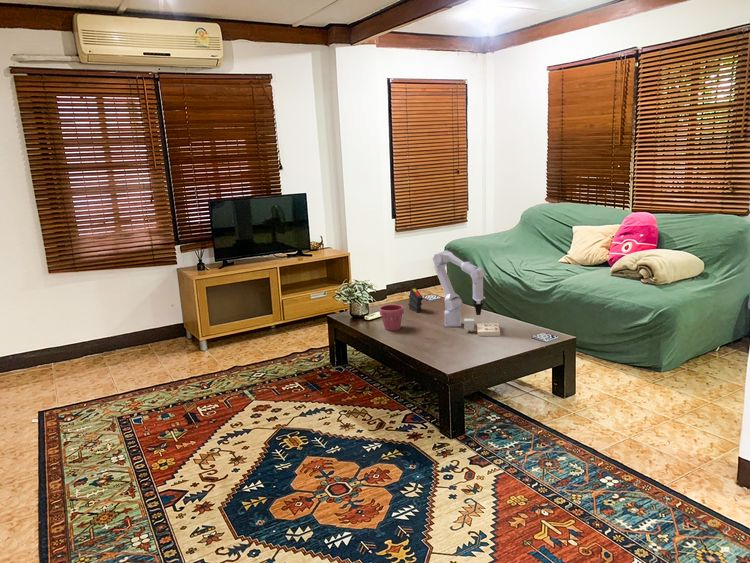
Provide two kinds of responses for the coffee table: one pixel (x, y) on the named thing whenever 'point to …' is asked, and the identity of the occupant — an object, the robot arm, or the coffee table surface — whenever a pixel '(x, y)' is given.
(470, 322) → the plug
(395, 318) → the plant pot
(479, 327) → the socket board
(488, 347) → the coffee table surface
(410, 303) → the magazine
